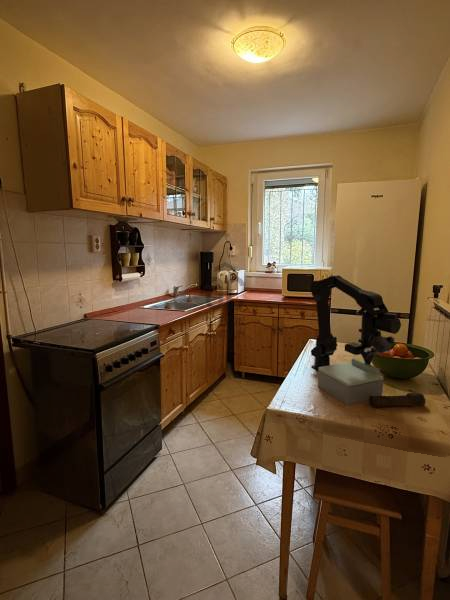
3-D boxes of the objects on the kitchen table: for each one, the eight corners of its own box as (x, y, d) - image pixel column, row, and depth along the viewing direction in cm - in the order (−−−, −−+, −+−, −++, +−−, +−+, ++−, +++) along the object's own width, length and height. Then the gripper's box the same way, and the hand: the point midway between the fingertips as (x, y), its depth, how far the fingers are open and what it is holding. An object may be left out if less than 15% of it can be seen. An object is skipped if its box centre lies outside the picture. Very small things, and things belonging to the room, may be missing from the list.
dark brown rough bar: (373, 409, 107) (374, 397, 106) (367, 404, 111) (368, 391, 110) (429, 410, 107) (431, 397, 106) (422, 404, 111) (423, 391, 110)
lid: (318, 369, 123) (318, 361, 122) (350, 363, 129) (351, 356, 128) (348, 386, 108) (349, 377, 108) (383, 379, 114) (384, 370, 114)
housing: (317, 386, 124) (318, 370, 123) (349, 379, 130) (350, 364, 129) (347, 404, 110) (348, 387, 108) (381, 396, 115) (383, 379, 114)
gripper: (368, 337, 108) (366, 379, 111) (406, 329, 115) (404, 369, 118) (344, 329, 118) (342, 368, 121) (381, 322, 125) (379, 359, 128)
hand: (367, 366), depth 122 cm, fingers closed
